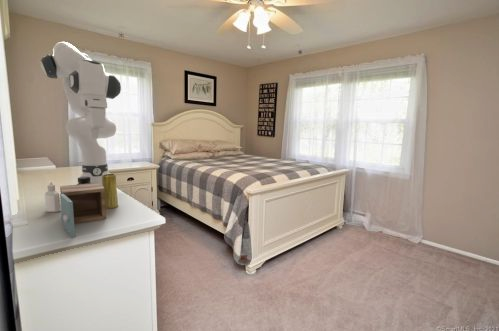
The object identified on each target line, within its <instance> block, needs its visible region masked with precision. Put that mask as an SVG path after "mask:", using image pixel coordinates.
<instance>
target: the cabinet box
mask: <svg viewBox="0 0 499 331" xmlns="http://www.w3.org/2000/svg"><path fill="white" fill-rule="evenodd" d="M77 184H78V183H77ZM77 184H70V185H68V184H67V185H60V186H59V188H60V194H64V195H65V196H67V197H68V198H69V199H70V200H71V201H72V202H73V214H74V225H79V224H83V223H89V222H95V221H100V220H106V219H107V209H106V206H105V188H104V187H103V186H102V185H101V184H100V183H89V184H78V185H77Z"/></svg>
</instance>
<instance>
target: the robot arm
mask: <svg viewBox="0 0 499 331" xmlns="http://www.w3.org/2000/svg"><path fill="white" fill-rule="evenodd" d="M52 52H53V54H47V55H45V56H42V58H41V59H40V67H41V70H42V72H43V73H44V74H45V76H46V77H48V78H49V79H62V82H61V83H62V88H63V91H64V94H65V97H66V99H67V101H68V104H69V106H70V108H71V110H72V112H73V113H74V114H76V115H78V116H79V117H73V118H70V119H68V120H67V121H66V124H65V131H66V133H67V135H68V136H70V138H72V139H73V140H75V142H76V143H77V144H78V146H79V148H80V151H81V158H82V165H81V171H82V173H81V174H80V176H79V177H90V180H91V181H90V182H91V183H100V184H101V185H102V175H103V174H111V173H110V172H109V171H108V170H109V167H108V163H107V150H106V149H105V148H104V147H103V146H101V145H100V144H99V143H98V142H99V141H98V140H99V139H107V138H111V137H113V136H114V135H115V134H116V132H117V126H116V124H115V122H114V121H113V120H111V119H110V118H108V117H107V116H106V114H107V113H106V111H107V110H106V109H107V108H108V102H107V99H111V100H114V99H115V98H117V97H118V96H119V95H120V94H121V90H122V86H121V82H120V80H119V79H118V78H117V76H115V75H114V74H110V73H109V72H107V71H106V70H105V67H104V64H103V62H100V61H96V60H92V59H91V58H90V56H89V55H88V54H87V53H84V52H80V51H79V50H78V48H77V47H75V46H74V45H72V44H71V43H69V42H65V41H60V42H57V43H56V44H55V45H54V46H53V49H52ZM102 186H103V185H102Z"/></svg>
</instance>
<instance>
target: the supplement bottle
mask: <svg viewBox="0 0 499 331" xmlns="http://www.w3.org/2000/svg"><path fill="white" fill-rule="evenodd" d="M90 181H91V180H90V177H80V176H78V177H77V183H76V185H78V184H89V183H91V182H90Z"/></svg>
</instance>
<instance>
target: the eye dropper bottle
mask: <svg viewBox="0 0 499 331" xmlns="http://www.w3.org/2000/svg"><path fill="white" fill-rule="evenodd" d="M44 202H45V203H44V205H45V211H46V212H48V213H57V212H61V201H60V193H59V191H57V190H56V185H54V184H53V182H51V181H49V185H47V191H46V192H45V193H44Z"/></svg>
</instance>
